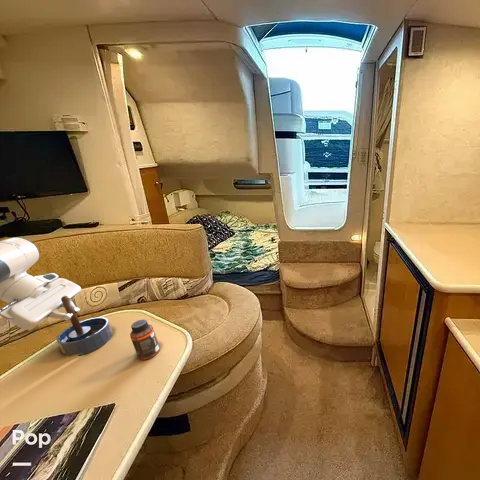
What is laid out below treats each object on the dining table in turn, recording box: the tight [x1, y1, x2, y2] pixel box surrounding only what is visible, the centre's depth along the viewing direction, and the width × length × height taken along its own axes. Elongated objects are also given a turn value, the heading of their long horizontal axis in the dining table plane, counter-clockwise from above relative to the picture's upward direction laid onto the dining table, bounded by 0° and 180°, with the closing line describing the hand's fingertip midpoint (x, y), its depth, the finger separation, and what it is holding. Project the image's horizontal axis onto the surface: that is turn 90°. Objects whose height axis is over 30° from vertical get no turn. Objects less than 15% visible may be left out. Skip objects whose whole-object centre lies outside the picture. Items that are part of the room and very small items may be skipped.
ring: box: [56, 316, 114, 357], centre depth 89 cm, size 13×13×6 cm
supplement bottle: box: [129, 318, 161, 361], centre depth 81 cm, size 6×6×11 cm
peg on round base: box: [61, 296, 94, 342], centre depth 86 cm, size 6×6×16 cm
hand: (74, 315), depth 86 cm, fingers closed on peg on round base
